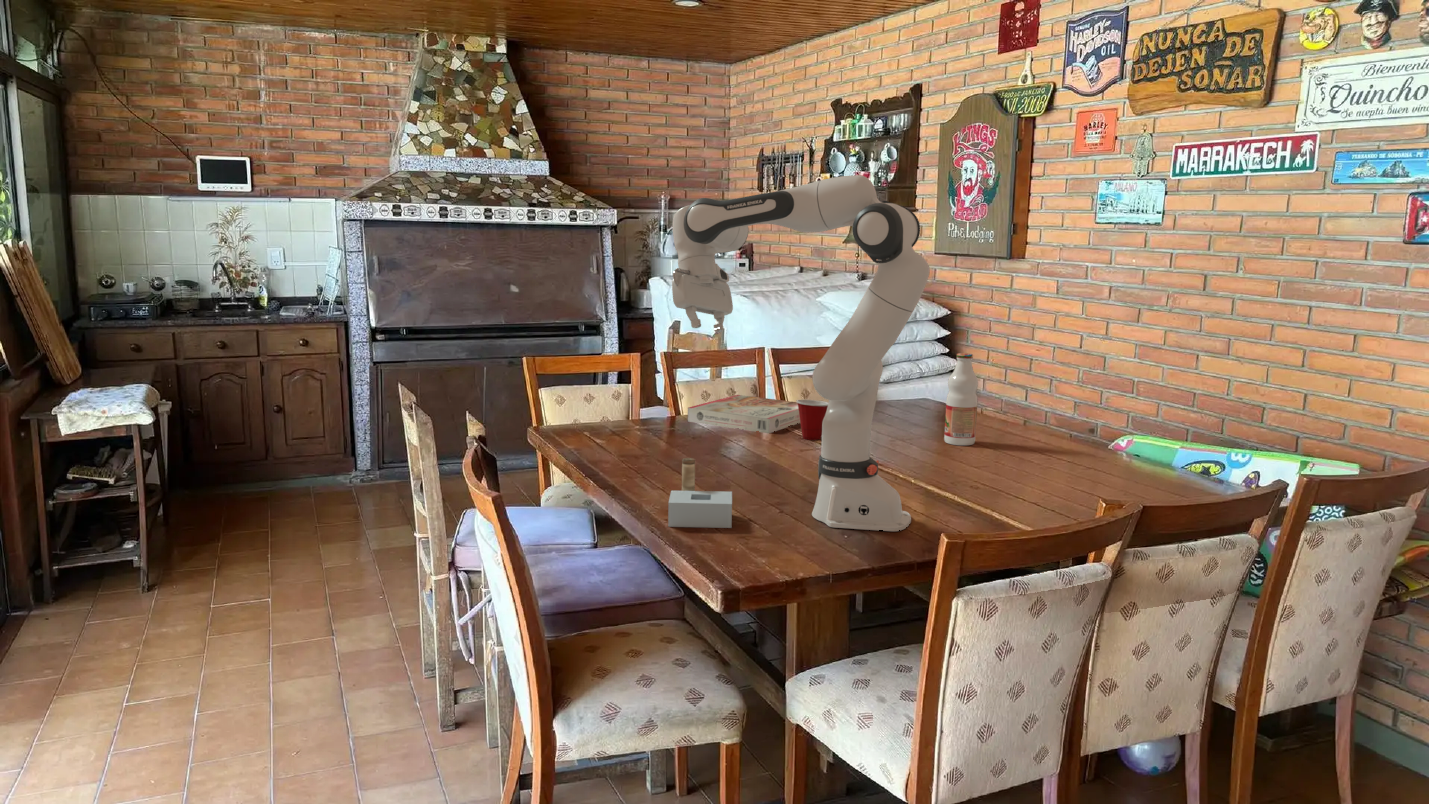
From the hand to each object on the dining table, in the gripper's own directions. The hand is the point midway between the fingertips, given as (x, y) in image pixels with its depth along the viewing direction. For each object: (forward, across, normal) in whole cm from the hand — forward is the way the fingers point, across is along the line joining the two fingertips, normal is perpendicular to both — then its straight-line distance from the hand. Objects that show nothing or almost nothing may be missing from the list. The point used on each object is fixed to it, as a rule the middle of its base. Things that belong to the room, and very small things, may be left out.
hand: (708, 329), depth 226 cm
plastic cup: (+21, +85, +23) cm, 90 cm away
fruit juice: (+30, +108, -16) cm, 113 cm away
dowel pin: (+40, -1, +14) cm, 42 cm away
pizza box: (+9, +98, +51) cm, 111 cm away
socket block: (+44, -6, +7) cm, 45 cm away
